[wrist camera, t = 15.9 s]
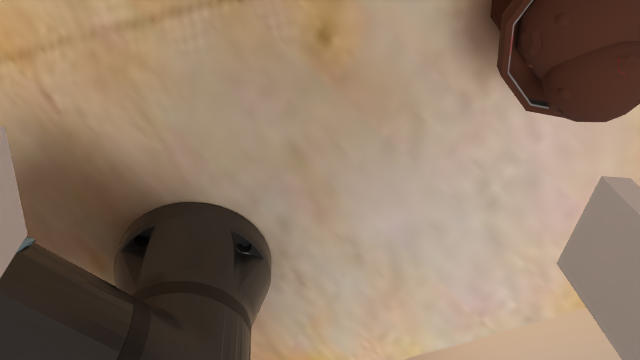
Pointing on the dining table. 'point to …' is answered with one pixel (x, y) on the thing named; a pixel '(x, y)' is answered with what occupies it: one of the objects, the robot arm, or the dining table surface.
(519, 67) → the ice cream bowl
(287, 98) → the dining table surface
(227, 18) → the dining table surface
